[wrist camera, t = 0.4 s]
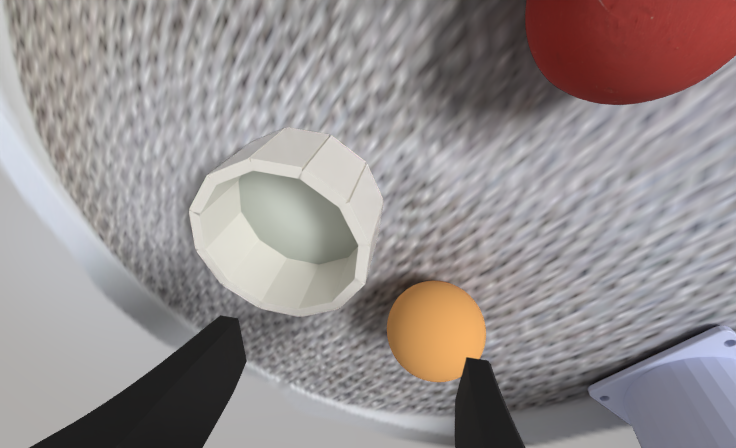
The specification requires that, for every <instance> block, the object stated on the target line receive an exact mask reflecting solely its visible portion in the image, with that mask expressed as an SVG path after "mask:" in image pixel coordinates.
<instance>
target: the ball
mask: <svg viewBox="0 0 736 448" xmlns="http://www.w3.org/2000/svg"><path fill="white" fill-rule="evenodd" d="M387 337H388V341H389V345H390V348H391V350H392V353H393V355H394V356H395V358H396V359H397V361H398V362H399V363H400V365H401V366H402V367H403V368H405V369H406V370H407V371H408V372H409V373H411V374H412V375H414V376H416V377H418V378H420V379H423V380H426V381H431V382H446V381H451V380H454V379H457V378H459V377H461V376H462V372H463V369H464V365H465V361H466V357H469V358H475V359H479V358H480V357H481V355H482V352H483V349H484V346H485V340H486V327H485V322H484V318H483V315H482V313H481V311H480V309H479V307H478V305H477V304H476V302H475V301H474V300H473V299H472V298H471V296H470V295H468V294H467V293H466V292H465V291H464V290H462V289H461V288H459V287H457V286H455V285H453V284H450V283H447V282H443V281H425V282H421V283H418V284H416V285H413V286H411V287H410V288H408V289H407V290H405V291H404V292H403V293H402V294H401V295H400V296H399V297H398V298H397V300H396V301H395V302H394V304H393V306H392V308H391V310H390V313H389V316H388V321H387Z"/></svg>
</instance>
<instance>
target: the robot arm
mask: <svg viewBox="0 0 736 448" xmlns="http://www.w3.org/2000/svg"><path fill="white" fill-rule="evenodd" d="M246 361H247V360H246V355H245V350H244V345H243V340H242V335H241V330H240V325H239V320H238V318H232V317H226V316H219V317H218V318H217V319H216V320H214V321H213V322H212V323H210V324H209V325H208V326H207V327H205V328H204V329H203V330H202V331H200V332H199V333H198V334H197V335H196V336H194V337H193V338H192V339H191V340H189V341H188V342H187V343H186V344H184V345H183V346H182V347H181V348H179V349H178V350H177V351H176V352H174V353H173V354H172V355H170V356H169V357H168V358H167V359H165V360H164V361H163V362H162V363H160V364H159V365H158V366H156V367H155V368H154V369H152V370H151V371H150V372H148V373H147V374H146V375H144V376H143V377H141V378H140V379H139V380H137V381H136V382H135V383H133V384H132V385H131V386H129V387H127V388H126V389H125V390H123V391H122V392H120V393H119V394H117V395H116V396H114V397H113V398H112V399H110V400H109V401H107V402H106V403H104V404H102V405H101V406H99V407H98V408H96V409H95V410H93V411H91V412H90V413H88V414H87V415H85V416H84V417H82V418H80V419H79V420H77V421H76V422H74V423H72V424H70V425H68V426H67V427H65V428H63V429H61V430H60V431H58V432H56V433H54V434H53V435H51V436H49V437H47V438H46V439H44V440H42V441H40V442H39V443H37V444H35V445H34V446H31V447H30V448H203V446H204V444H205V442H206V441H207V439H208V437H209V435H210V433H211V432H212V430H213V428H214V426H215V425H216V423H217V421H218V419H219V418H220V416H221V414H222V412H223V410H224V409H225V407H226V405H227V403H228V401H229V400H230V398H231V396H232V394H233V392H234V390H235V388H236V385H237V383H238V381H239V379H240V376H241V374H242V371H243V369H244V366H245V364H246ZM588 392H589V395H590V396H591V397H592V398H593V399H595V400H596V401H598V402H599V403H600V404H602V405H603V406H604V407H606V408H607V409H609V410H610V411H611V412H613V413H614V414H616V415H617V416H618V417H620V418H621V419H622V420H624V421H625V422H627V423H628V424H629V425H631V426H632V427H633V429H634V432H635V434H636V436H637V439H638V441H639V443H640V445H641V448H736V333H735V332H734V331H733V330H732V329H731V328H729V327H727V326H717V327H714V328H712V329H709V330H707V331H705V332H703V333H701V334H699V335H697V336H695V337H692V338H690V339H688V340H686V341H684V342H682V343H680V344H677V345H675V346H673V347H671V348H669V349H667V350H665V351H663V352H660V353H658V354H656V355H654V356H652V357H650V358H648V359H646V360H643V361H641V362H639V363H637V364H635V365H633V366H631V367H629V368H626V369H624V370H622V371H620V372H618V373H616V374H614V375H612V376H609V377H607V378H605V379H603V380H601V381H599V382H597V383H594V384H592V385H591V386H589V388H588ZM455 448H525V446H524V444H523V442H522V439H521V437H520V435H519V433H518V431H517V429H516V427H515V424H514V422H513V420H512V418H511V416H510V413H509V411H508V409H507V406H506V404H505V401H504V399H503V397H502V394H501V392H500V389H499V386H498V384H497V381H496V378H495V376H494V373H493V370H492V367H491V364H490V363H489V362H488V361H487V360H481V359H475V358H469V357H466V361H465V365H464V369H463V372H462V376H461V380H460V384H459V388H458V392H457V395H456V399H455Z"/></svg>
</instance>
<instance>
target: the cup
mask: <svg viewBox="0 0 736 448" xmlns="http://www.w3.org/2000/svg"><path fill="white" fill-rule="evenodd" d="M365 163H366V161H364V160H363V159H362V158H360V157H359V156H358V155H357V154H355V153H354V152H353V151H351V150H350V149H349V148H347V147H346V146H345V145H343V144H342V143H341V142H340V141H338V140H337V139H336V138H334V137H333V136H332V135H331V136H330V137H329V134H325V133H319V132H313V131H307V130H301V129H295V128H289V127H287V128H283V129H281V130H278V131H276V132H274V133H271V134H269V135H266V136H264V137H262V138H259V139H257V140H255V141H252V142H250V143H249V144H248V145H246V146H245V147H244V148H243V149H241V150H240V151H239V152H237V153H236V154H235V155H233V156H232V157H231V158H229V159H228V160H227V161H225V162H224V163H223V164H221V165H220V166H219V167H217V168H216V169H215V170H213V171H212V172H211V173H209V174H208V175H207V176H206V178H205V180H204V182H203V183H202V185H201V187H200V189H199V191H198V193H197V195H196V197H195V199H194V201H193V203H192V205H191V206H190V208H189V215H190V221H191V227H192V232H193V238H194V244H195V249H197V250H196V251H197V253H198V254H199V255H200V257H201V258H202V259H203V261H204V262H205V263H206V265H207V266H208V267H209V269H210V270H211V271H212V273H213V274H214V275H215V277H216V278H217V279H218V281H219V282H220V283H221V284H222V283H224V284H223V286H224V287H226V288H227V289H229V290H231V291H232V292H234V293H235V294H237V295H239V296H240V297H242V298H243V299H245V300H247V301H248V302H250V303H251V304H253V305H254V306H256V307H259V306H260V309H264V310H269V311H274V312H278V313H283V314H288V315H292V316H297V317H300V316H301V317H304V316H309V315H314V314H318V313H323V312H328V311H333V310H338V308H339V309H340V308H341V307H342V306H343V305H344V304H345V303H346V302H347V301H348V300H349V299H350V298H351V297H352V296H353V295H354V294H355V293H356V292H357V291H358V290H359V289H361V288H362V287H363V286H364V285H365V282H366V279H367V275H368V271H369V268H370V264H371V261H372V257H373V253H374V250H375V246H376V242H377V239H378V235H379V229H380V222H381V216H382V209H383V202H384V201H383V197H382V195H381V193H380V191H379V188H378V186H377V184H376V182H375V180H374V177H373V175H372V173H371V171H370V168H369V166H368V164H365Z"/></svg>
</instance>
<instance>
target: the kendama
mask: <svg viewBox="0 0 736 448" xmlns="http://www.w3.org/2000/svg"><path fill="white" fill-rule="evenodd" d="M525 25H526V34H527V40H528V44H529V47H530V51H531V53H532V56H533V58H534V60H535V62H536V64H537V66H538V68H539V69H540V71H541V72H542V73H543V75H544V76H545V77H546V78H547V79H548V80H549V81H550V82H551V83H552V84H553V85H555V86H556V87H557V88H559V89H561V90H563V91H564V92H566V93H568V94H570V95H572V96H575V97H577V98H580V99H583V100H586V101H590V102H594V103H599V104H610V105H626V104H636V103H642V102H647V101H652V100H655V99H659V98H663V97H666V96H669V95H672V94H674V93H677V92H680V91H682V90H684V89H686V88H688V87H690V86H692V85H695V84H697V83H698V82H700V81H702V80H703V79H705V78H707V77H708V76H710V75H711V74H713V73H714V72H715V71H717V70H718V69H720V68H721V67H722V66H723V65H725V64H726V63H727V62H728V61H730V60H731V59H732V58H733V57H734V56H735V55H736V0H527V2H526V12H525Z"/></svg>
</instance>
